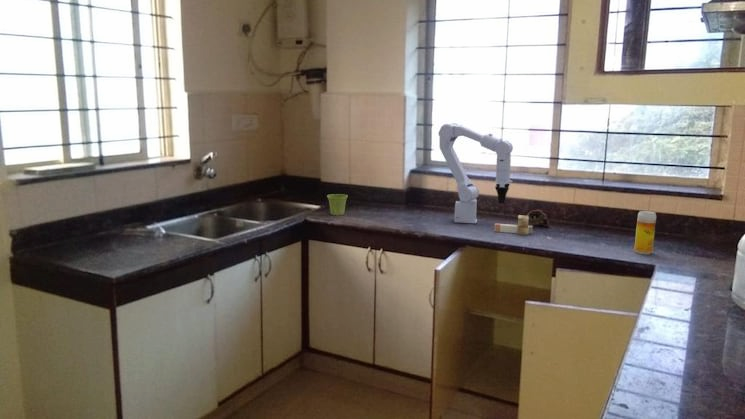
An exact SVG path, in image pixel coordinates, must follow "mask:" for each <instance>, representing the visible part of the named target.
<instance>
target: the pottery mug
mask: <svg viewBox="0 0 745 419" xmlns="http://www.w3.org/2000/svg"><path fill="white" fill-rule="evenodd" d="M526 216H528V218H529V217H530V218H529V220H528V226H529V225H530V226H535V225H539V226H542V225H543V226H544V225H546V226H547V227H548V228H549V227H550V222H549V220H548V215H547V214H545V213H544V212H543V211H542V210H541V209H536V210H531V211H529V212H528V213H527V214H526Z"/></svg>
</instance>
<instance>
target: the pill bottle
mask: <svg viewBox="0 0 745 419" xmlns="http://www.w3.org/2000/svg"><path fill="white" fill-rule="evenodd" d="M636 220H637V221H636V228H635V238H634V239H635V240H634V248H633V250H634V252H635V253H636V254H640V255H651V254H652V253H653V250H654V241H655V234H656V233H655V232H656V222H657V214H656V211H655V212H654V211H651V210H639V212H638V213H637V219H636Z"/></svg>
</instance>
